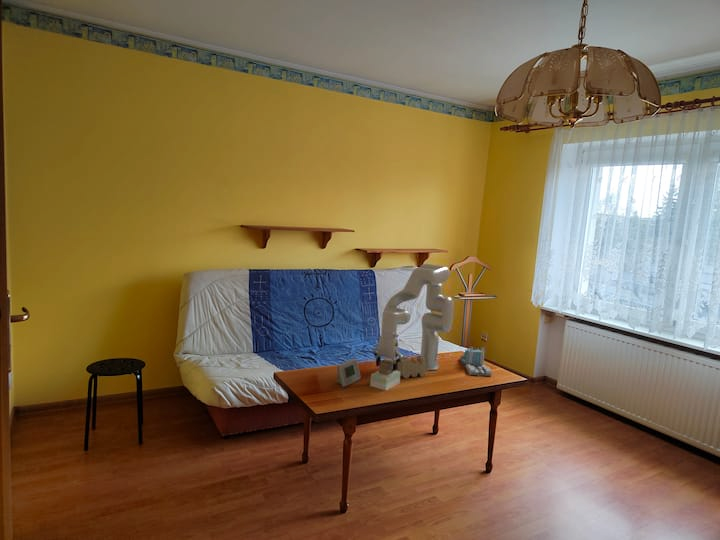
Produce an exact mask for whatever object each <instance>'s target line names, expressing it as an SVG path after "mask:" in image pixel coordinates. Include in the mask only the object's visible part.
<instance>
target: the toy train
mask: <svg viewBox="0 0 720 540" xmlns="http://www.w3.org/2000/svg"><path fill="white" fill-rule="evenodd" d="M398 358H399V357H397V359H398ZM426 364H427V363H425V358H423V357H421V355H418V356H416V359H415V358H411V359H410V358H408V357H407V356H403V358H402V359H401V361H399V362H398V367H397V371H400V372H401V373H400V377H402V378H403V379H408V378H410V377H412V378H416V377H418V376H419V377H421V378H423V377H424V376H425V375H426V373H429V370H428V369H427V368H426Z"/></svg>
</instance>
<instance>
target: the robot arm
mask: <svg viewBox="0 0 720 540" xmlns="http://www.w3.org/2000/svg"><path fill="white" fill-rule="evenodd" d="M450 275H451V273H450V269H449V268H448V267H447V266H444V265H439V264H438V265H437V264H432V263H431V264H430V263H423V264H421V265H420V267H417V268H415V269H413V271H412V272H411V275H410V276H409V277H408V279H407V282H406V283H405V286H404V287H403V289H401V290H400V291H399V292H397V293H395V294H394V295H393V296H391V297H390V298H389V300H388V301H387V303H386V305H385V307H384V309H383V312H382V317H381V319H382V320H381V329H380V330H381V332H380V336H379V340H378V343H377V347H374V348H372V349H371V350H372V352H373V355H374V358H375V367H377V368H378V367H380V361H382V358H385V359H388V360H391V361H393V371H395V370H396V371H398V362H399V361H401V359H402V358H403V357H404V355H403V354H402V353H401V352H400V351H399V341H398V338H399V335H398V334H397V330H398V329H397V327H398V325H406V324H408V323H409V322H410V321H411V313H410V312H409V311H408V310H406V309H403V308H398V306H399V305H400V304H403V303H405V302H408V301H409V302H410V301H412V300H415V299H418V297H419V296H420V293H421V291H422V290H423V287H424V286H425V285H426V297H425V307H426V309H427V310H429V311H431V312H426V313H425V312H424V314H423V315H422V317H421V329H422V333H421V345H420V346H421V347H420V356H421V357H423V358H425V363H427V364H426V368H427V369H428V371H437V370H439V369H440V365H439V364H438V361H439V357H438V353H439V343H440V342H439V340H440V339H439V338H440V337H439V333H444V334H446V333H449V332H450V331H451V330H452V327H453V318H454V309H455V308H454V307H455V303H454V300H453V298H452V297H450V296H447V295H443V285H442V284H443V283H445V282H447V280H449V278H450ZM435 312H437V313H435ZM439 313H440V314H439ZM438 332H439V333H438ZM381 357H382V358H381ZM397 358H398V359H397Z"/></svg>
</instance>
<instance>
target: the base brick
mask: <svg viewBox="0 0 720 540" xmlns="http://www.w3.org/2000/svg"><path fill="white" fill-rule="evenodd" d="M400 373H401V372H400V371H398V370H395V371H393V373H392V374H389V375H385V374H381V373H379V370H377V371H375V372H373V373H371V374H370V382H369V384H370V385H369V387H373V388H376V389H379V390H383V391H387V390H389V389H391V388H394V387H395V386H397V385H399V384H400V383H401V375H400Z"/></svg>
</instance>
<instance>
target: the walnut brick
mask: <svg viewBox="0 0 720 540" xmlns="http://www.w3.org/2000/svg"><path fill="white" fill-rule="evenodd" d="M393 363H394V362H393V360H391V359H387V358H385V359H383V360H382V359H381V361H380V366H379V369H378V371H379V373H381V374H385V375H389V374H392V373H393Z"/></svg>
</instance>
